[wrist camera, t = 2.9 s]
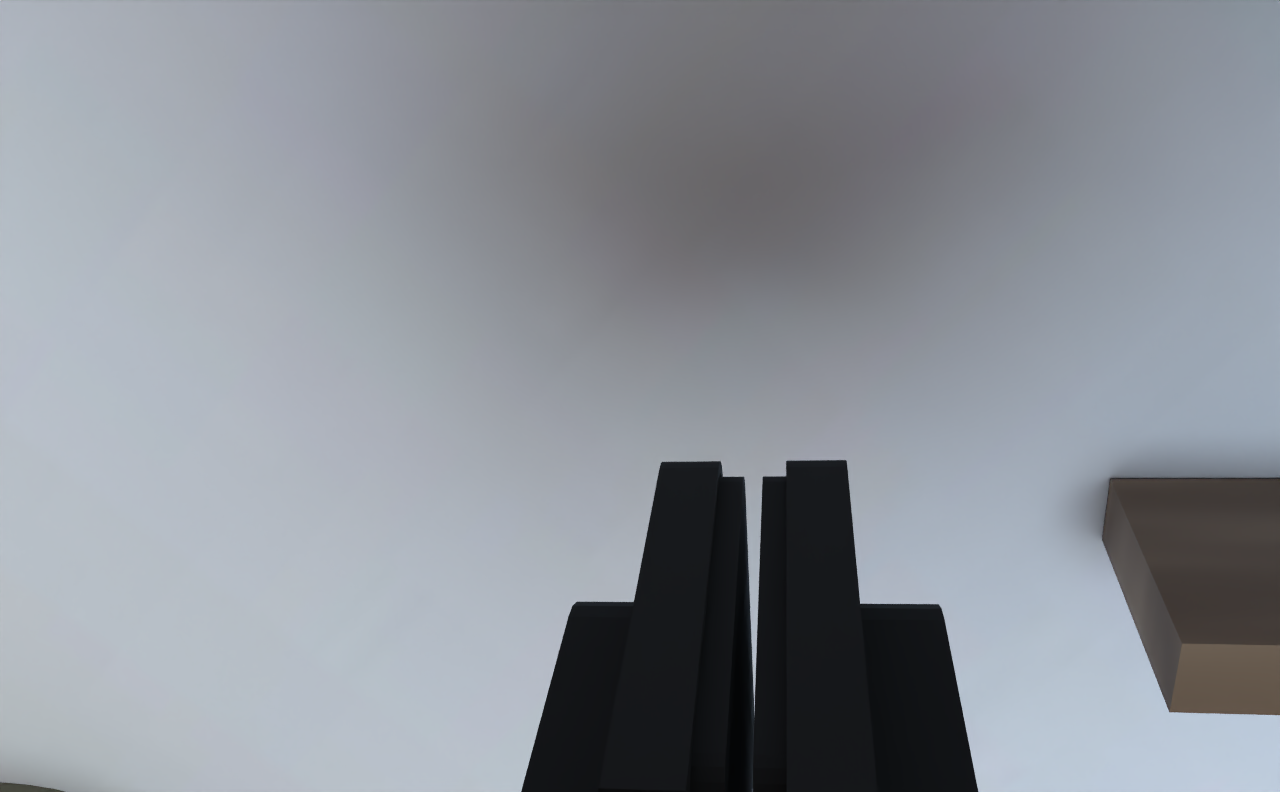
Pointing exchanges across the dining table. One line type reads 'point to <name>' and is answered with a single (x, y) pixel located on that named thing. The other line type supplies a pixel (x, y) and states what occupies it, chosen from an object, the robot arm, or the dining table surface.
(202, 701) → the dining table surface
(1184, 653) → the chute
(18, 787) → the can
